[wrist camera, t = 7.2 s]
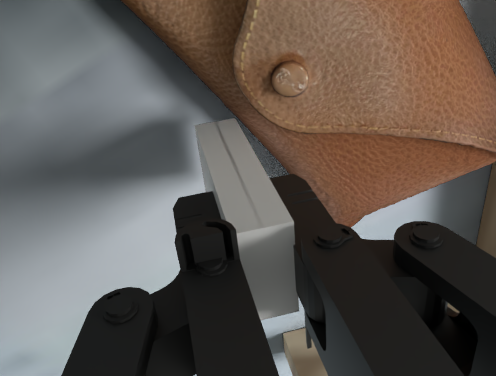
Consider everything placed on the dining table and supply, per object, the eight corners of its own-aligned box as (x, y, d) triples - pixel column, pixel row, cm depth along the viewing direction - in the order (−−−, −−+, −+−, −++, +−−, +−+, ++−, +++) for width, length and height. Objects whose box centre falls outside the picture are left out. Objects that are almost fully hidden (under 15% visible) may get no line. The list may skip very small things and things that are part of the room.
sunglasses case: (-27, -111, 12) (4, -322, 6) (130, -259, 14) (257, -520, 8) (344, 243, 21) (489, 279, 16) (409, 124, 23) (558, 119, 17)
